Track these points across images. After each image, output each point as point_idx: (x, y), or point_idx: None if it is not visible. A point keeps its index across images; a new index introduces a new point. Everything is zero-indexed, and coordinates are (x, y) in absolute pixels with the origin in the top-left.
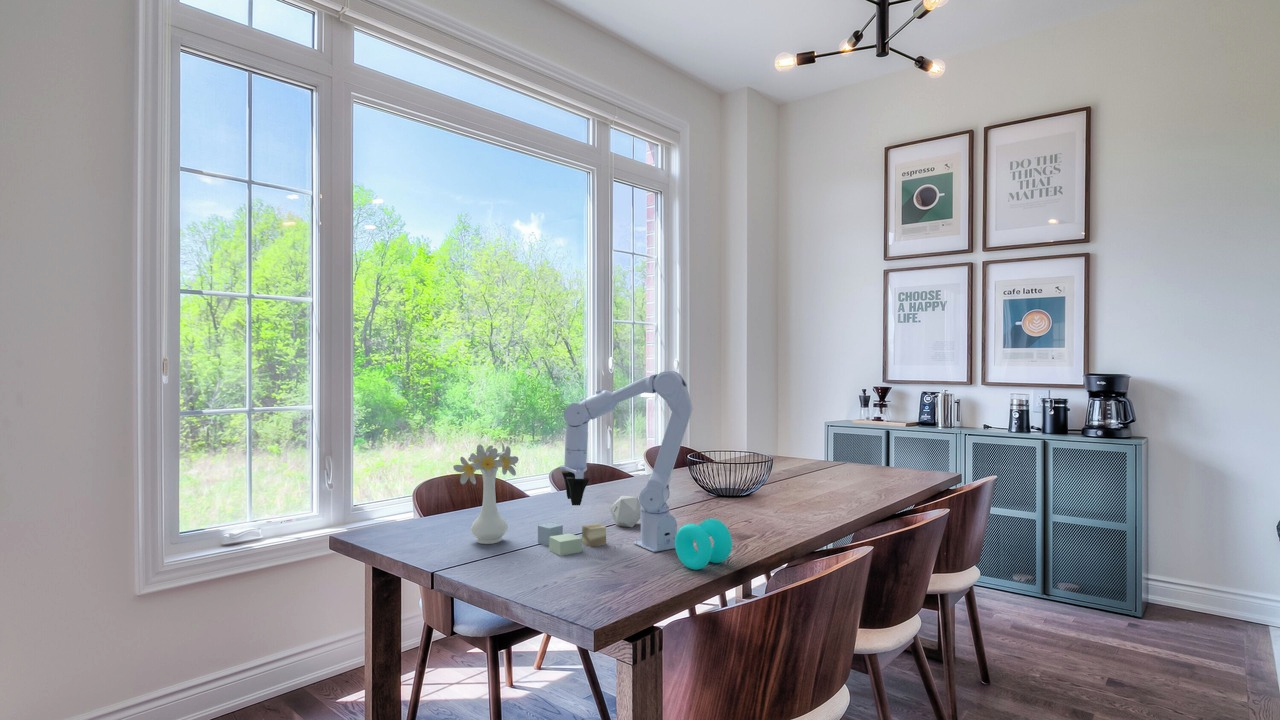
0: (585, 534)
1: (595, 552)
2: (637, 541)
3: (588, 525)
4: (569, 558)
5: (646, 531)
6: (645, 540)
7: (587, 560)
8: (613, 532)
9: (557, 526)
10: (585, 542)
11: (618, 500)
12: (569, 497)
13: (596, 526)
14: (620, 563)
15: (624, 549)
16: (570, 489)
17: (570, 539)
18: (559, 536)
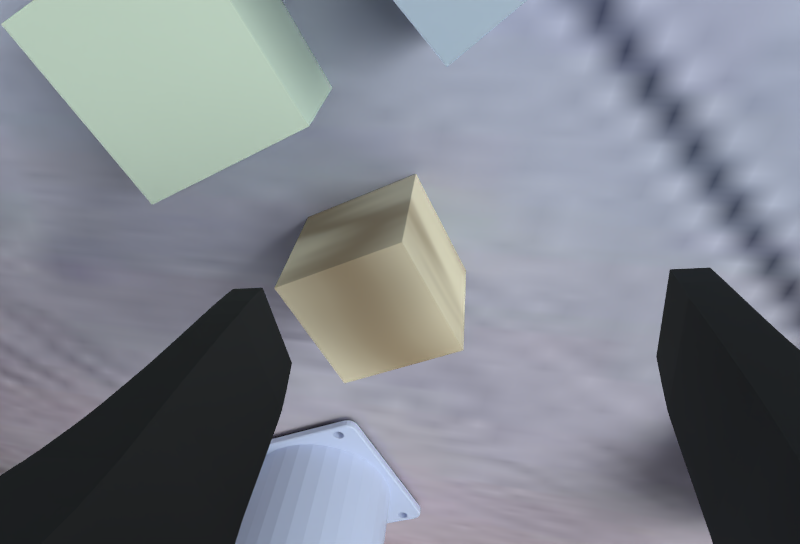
0: (356, 229)
1: (184, 234)
2: (355, 439)
3: (400, 286)
4: (20, 69)
5: (243, 520)
6: (265, 474)
7: (11, 178)
8: (642, 371)
9: (399, 6)
10: (367, 198)
11: None
12: (671, 302)
13: (360, 333)
14: (9, 321)
15: None
16: (30, 459)
17: (100, 116)
18: (187, 18)
